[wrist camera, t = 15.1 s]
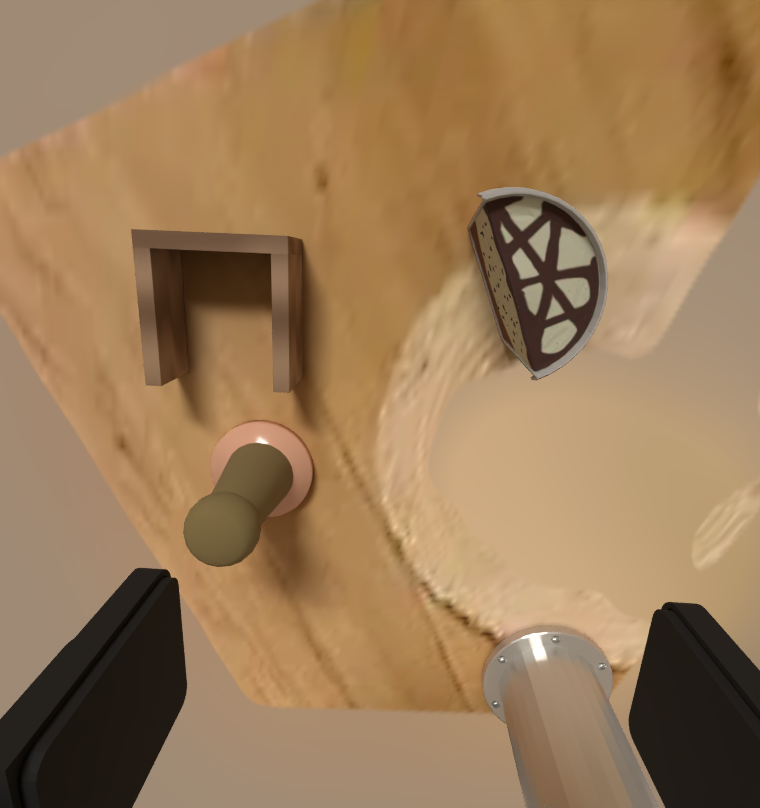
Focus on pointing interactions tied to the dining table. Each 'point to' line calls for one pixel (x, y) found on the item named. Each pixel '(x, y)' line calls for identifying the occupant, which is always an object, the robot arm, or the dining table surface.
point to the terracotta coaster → (277, 438)
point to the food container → (539, 274)
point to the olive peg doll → (238, 505)
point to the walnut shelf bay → (167, 311)
